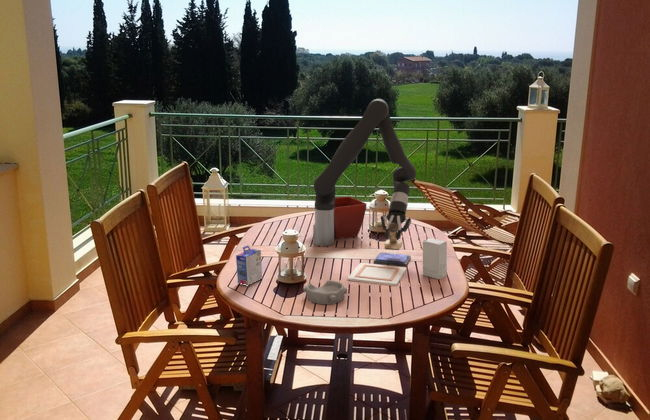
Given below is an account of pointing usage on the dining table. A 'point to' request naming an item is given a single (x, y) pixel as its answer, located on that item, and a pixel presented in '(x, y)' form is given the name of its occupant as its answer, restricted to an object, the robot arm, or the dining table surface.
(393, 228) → the rubber stamp
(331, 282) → the dish
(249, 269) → the ink cartridge box
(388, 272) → the marked board
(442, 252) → the skincare box
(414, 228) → the dining table surface
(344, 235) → the plant pot
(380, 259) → the ink pad
